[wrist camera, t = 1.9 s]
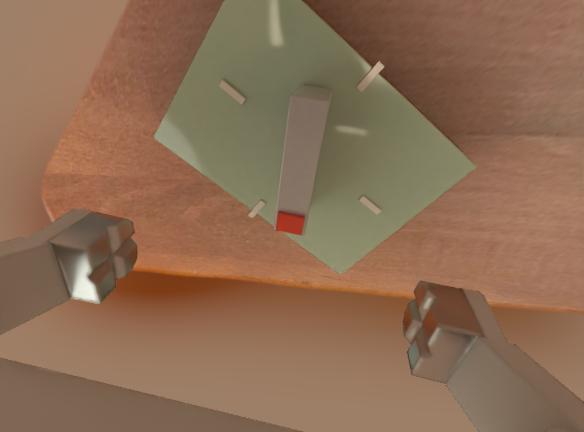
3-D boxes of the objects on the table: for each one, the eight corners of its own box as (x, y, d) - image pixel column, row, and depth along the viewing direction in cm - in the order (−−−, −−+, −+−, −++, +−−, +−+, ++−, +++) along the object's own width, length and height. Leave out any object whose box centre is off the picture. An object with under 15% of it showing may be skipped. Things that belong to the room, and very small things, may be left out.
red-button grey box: (299, 83, 15) (288, 95, 12) (333, 89, 15) (330, 103, 12) (283, 202, 18) (271, 233, 15) (310, 207, 18) (303, 239, 15)
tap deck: (175, 128, 20) (148, 143, 17) (270, -44, 15) (253, -60, 12) (338, 250, 23) (336, 280, 20) (464, 143, 18) (485, 163, 15)
